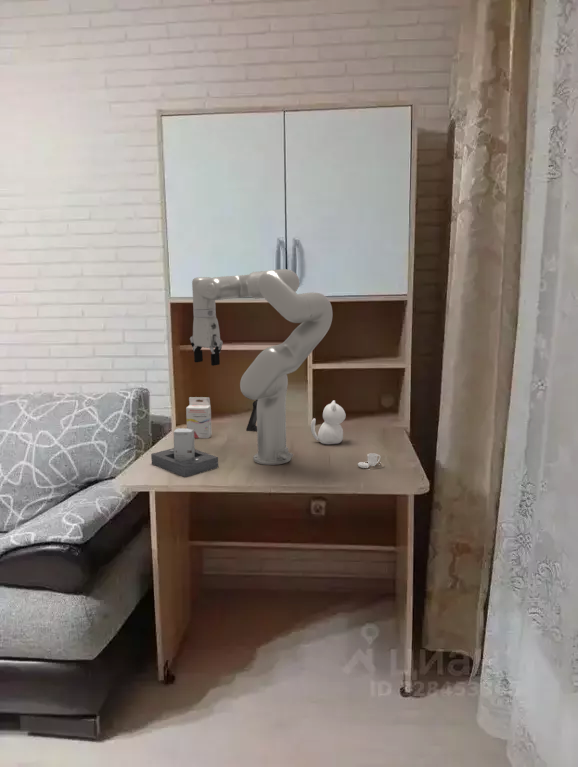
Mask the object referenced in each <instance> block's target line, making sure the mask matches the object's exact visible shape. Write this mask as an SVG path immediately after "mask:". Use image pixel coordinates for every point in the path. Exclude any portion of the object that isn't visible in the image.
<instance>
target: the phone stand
mask: <svg viewBox="0 0 578 767" xmlns="http://www.w3.org/2000/svg"><path fill="white" fill-rule="evenodd" d="M257 402H258V400H253V403H252V411H251V412H250V413H251V414H250V417H249V420H248V424H247V426H246V432H257Z"/></svg>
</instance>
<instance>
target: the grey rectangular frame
mask: <svg viewBox="0 0 578 767" xmlns="http://www.w3.org/2000/svg"><path fill="white" fill-rule="evenodd" d="M150 454H151V455H150V457H151V458H150V459H151V465H153V466H156V467H158V468H160V469H162V470H165V471H168V472H171V473H174V474H175V475H178V476H181V477H183V478H187V477H191V476H194V475H197V474H201V473H205V472H207V470H208V471H211V469H212V470H215V469H218V468H219V457H218V456H216V455H213V454H209V453H208V452H206V451H205V452H204V451H202V450H198V449H196V448H195V458H192V459H188V460H184V461H181V462H180V461H178V460H175V459H174V447H172V448H169V449H165V450H161V451H157V452H153V453H150ZM217 467H218V468H217ZM204 471H205V472H204ZM200 472H201V473H200Z"/></svg>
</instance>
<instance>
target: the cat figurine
mask: <svg viewBox="0 0 578 767" xmlns="http://www.w3.org/2000/svg"><path fill="white" fill-rule="evenodd" d="M346 417H347V416H346V411H345V410H344V408H343V407H342V406H341V405H339V404H338V403H336V400H332V401H331V402H330V403H328V404H326V406H325V407H324V408H323V412H322V419H323V421H324V422H323V423H322V424H321V426H320V427H319V428H318V433H317V432H316V428H315V427H316V417H315V418H314V417H313V419H312V420H311V422H310V431H311V434H312V437H313V439H314V440H316V441H318V442H320V443H321V444H323V445H337V444H340V443H342V442H343V439H344V430H343V426H342V425H341V424H342V423H343V422H344V421H345V419H346Z"/></svg>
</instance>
